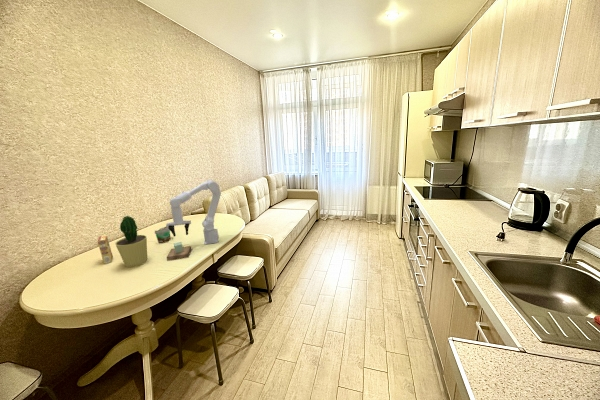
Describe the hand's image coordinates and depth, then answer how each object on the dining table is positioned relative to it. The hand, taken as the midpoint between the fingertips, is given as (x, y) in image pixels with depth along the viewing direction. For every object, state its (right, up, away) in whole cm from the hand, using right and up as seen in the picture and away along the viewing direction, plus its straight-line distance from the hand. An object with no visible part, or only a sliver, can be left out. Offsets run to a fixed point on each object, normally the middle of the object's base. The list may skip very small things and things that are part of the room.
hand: (181, 235), depth 159 cm
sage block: (+3, -9, -8) cm, 12 cm away
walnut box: (+3, -12, -7) cm, 14 cm away
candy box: (-40, -14, -10) cm, 44 cm away
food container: (-19, -7, +17) cm, 26 cm away
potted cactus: (-20, -15, -14) cm, 28 cm away
